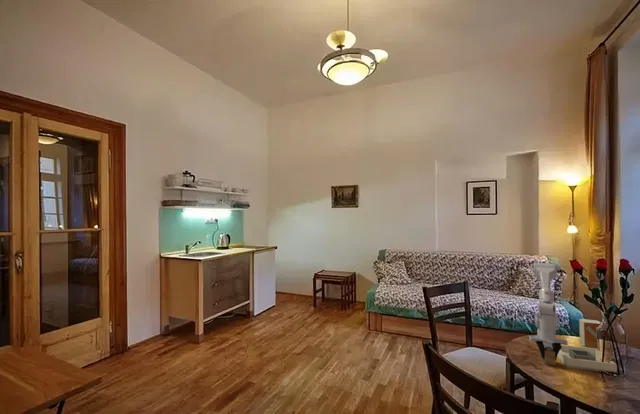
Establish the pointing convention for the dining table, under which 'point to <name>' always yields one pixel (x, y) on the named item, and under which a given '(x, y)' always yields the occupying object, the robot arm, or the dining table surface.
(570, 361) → the cream square tray
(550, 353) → the peg
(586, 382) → the dining table surface
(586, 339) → the small box
